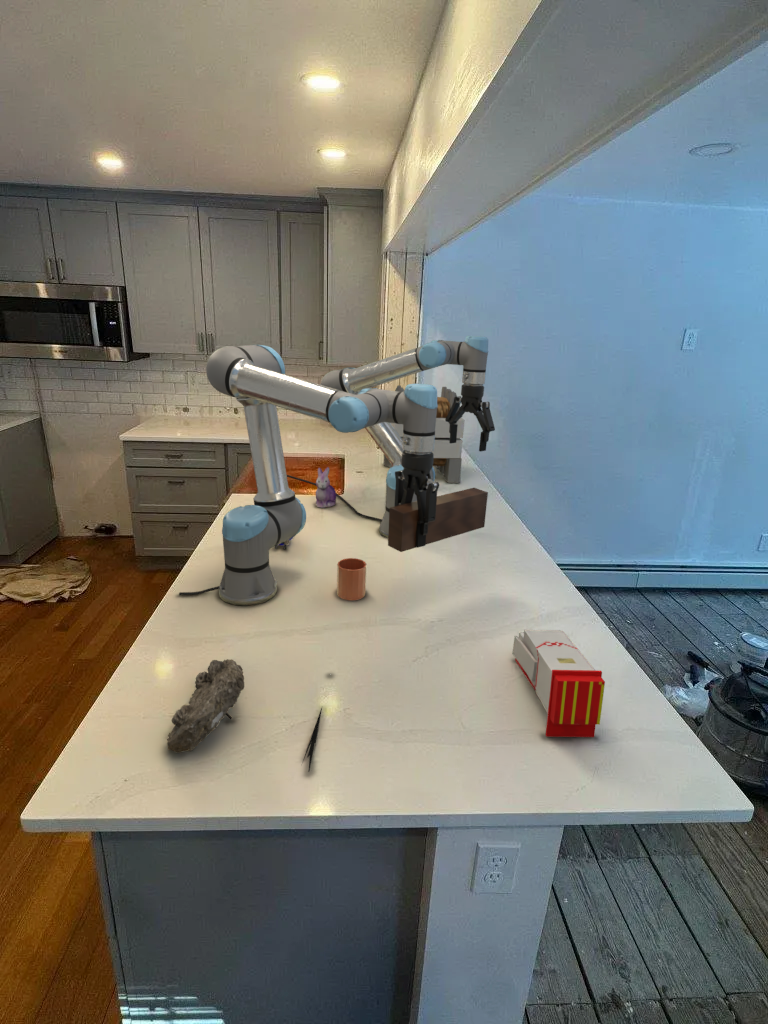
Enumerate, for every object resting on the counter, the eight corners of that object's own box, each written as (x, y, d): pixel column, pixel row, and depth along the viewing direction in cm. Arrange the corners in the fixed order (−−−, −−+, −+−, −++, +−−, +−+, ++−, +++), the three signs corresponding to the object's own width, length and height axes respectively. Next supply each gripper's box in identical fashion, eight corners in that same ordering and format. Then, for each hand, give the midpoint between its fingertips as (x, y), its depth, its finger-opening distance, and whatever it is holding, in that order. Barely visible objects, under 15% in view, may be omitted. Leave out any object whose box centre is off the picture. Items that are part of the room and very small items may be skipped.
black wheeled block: (290, 555, 182) (296, 533, 195) (289, 535, 178) (295, 513, 192) (269, 555, 181) (276, 532, 195) (268, 534, 178) (275, 513, 191)
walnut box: (400, 552, 136) (402, 513, 133) (387, 545, 140) (389, 507, 137) (484, 527, 154) (488, 492, 151) (470, 521, 158) (474, 487, 155)
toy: (559, 614, 131) (614, 677, 102) (553, 667, 134) (605, 744, 105) (507, 613, 131) (547, 676, 102) (503, 666, 134) (541, 743, 104)
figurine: (319, 509, 219) (319, 472, 214) (309, 501, 228) (309, 465, 223) (341, 506, 224) (342, 470, 218) (331, 499, 232) (332, 463, 227)
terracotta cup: (331, 592, 157) (331, 562, 154) (353, 584, 162) (354, 555, 159) (348, 603, 152) (349, 573, 149) (371, 595, 157) (372, 565, 154)
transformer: (382, 463, 289) (386, 382, 275) (445, 464, 293) (451, 384, 279) (390, 482, 257) (394, 392, 243) (460, 483, 261) (468, 394, 247)
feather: (331, 679, 122) (336, 673, 122) (307, 777, 96) (313, 769, 95) (324, 675, 122) (329, 669, 121) (298, 772, 95) (304, 764, 95)
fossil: (192, 660, 117) (244, 628, 112) (224, 691, 120) (276, 661, 115) (142, 746, 98) (202, 712, 93) (182, 779, 101) (242, 748, 96)
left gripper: (381, 445, 138) (378, 534, 146) (432, 461, 125) (426, 558, 133) (404, 442, 143) (400, 528, 150) (456, 457, 130) (449, 550, 137)
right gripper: (438, 380, 196) (433, 440, 203) (495, 390, 178) (488, 455, 185) (453, 379, 200) (448, 438, 207) (510, 388, 183) (502, 452, 190)
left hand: (412, 542), depth 142 cm, fingers closed on walnut box, 5 cm apart
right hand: (467, 446), depth 196 cm, fingers open, 13 cm apart
